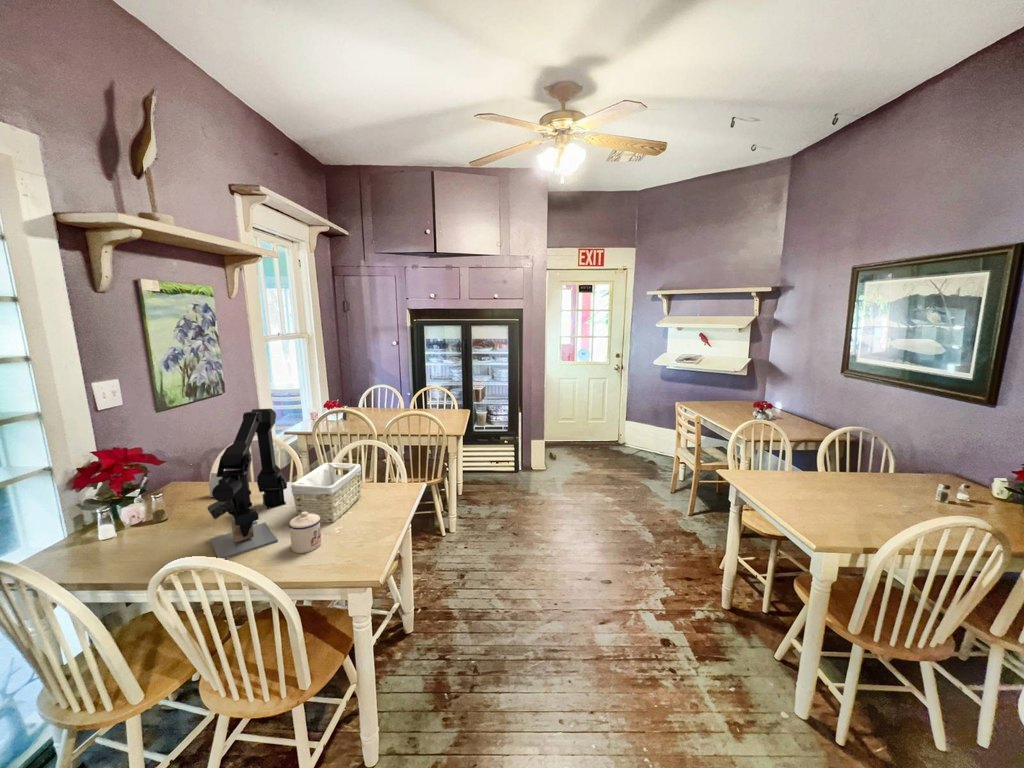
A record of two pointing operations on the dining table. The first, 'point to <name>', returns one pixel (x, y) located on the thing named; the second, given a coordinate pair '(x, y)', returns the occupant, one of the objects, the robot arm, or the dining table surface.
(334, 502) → the storage basket
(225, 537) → the tile
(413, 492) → the dining table surface
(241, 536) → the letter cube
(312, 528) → the lidded ceramic jar
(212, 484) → the grey block
